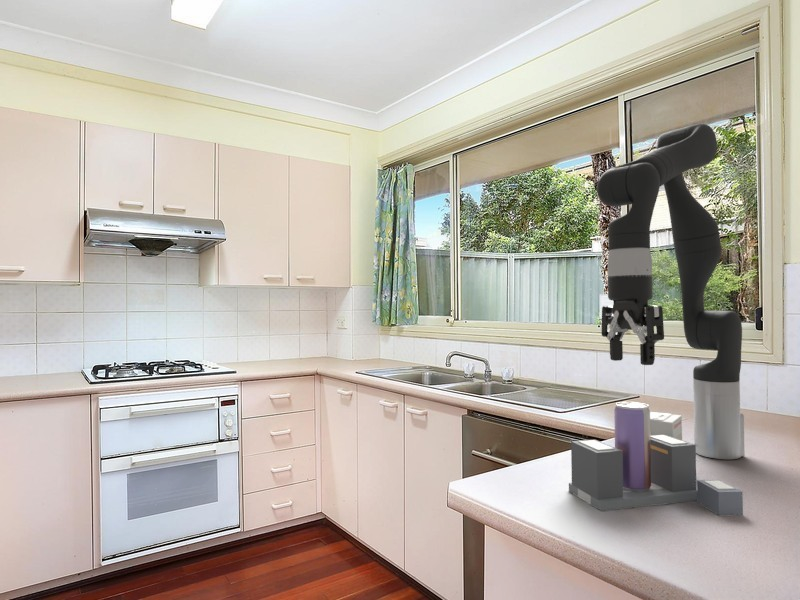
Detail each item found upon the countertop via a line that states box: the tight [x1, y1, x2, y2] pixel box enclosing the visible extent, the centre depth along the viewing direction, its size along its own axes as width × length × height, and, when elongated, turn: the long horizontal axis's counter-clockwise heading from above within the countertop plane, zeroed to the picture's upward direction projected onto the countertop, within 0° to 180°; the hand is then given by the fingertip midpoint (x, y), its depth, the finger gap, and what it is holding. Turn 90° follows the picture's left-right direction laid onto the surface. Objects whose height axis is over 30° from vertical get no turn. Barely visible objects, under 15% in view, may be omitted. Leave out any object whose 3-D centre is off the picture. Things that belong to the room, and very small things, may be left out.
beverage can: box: [613, 401, 651, 492], centre depth 96 cm, size 6×6×15 cm
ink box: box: [650, 411, 683, 441], centre depth 110 cm, size 9×8×12 cm
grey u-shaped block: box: [568, 435, 698, 512], centre depth 96 cm, size 20×10×10 cm, turn 103°
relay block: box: [696, 479, 744, 517], centre depth 90 cm, size 6×4×4 cm, turn 2°
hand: (631, 362), depth 97 cm, fingers open, 8 cm apart
